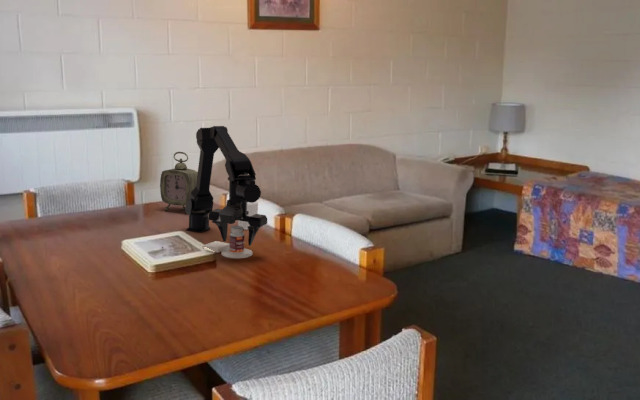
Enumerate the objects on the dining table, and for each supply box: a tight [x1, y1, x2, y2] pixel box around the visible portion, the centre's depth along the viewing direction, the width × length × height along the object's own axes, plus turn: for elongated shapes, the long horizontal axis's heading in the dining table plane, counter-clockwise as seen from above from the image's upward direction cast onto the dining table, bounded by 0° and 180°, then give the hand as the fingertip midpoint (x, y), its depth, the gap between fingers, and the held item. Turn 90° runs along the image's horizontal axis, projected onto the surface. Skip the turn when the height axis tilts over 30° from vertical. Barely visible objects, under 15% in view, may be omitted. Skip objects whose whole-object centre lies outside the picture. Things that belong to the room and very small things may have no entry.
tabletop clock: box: [159, 151, 198, 212], centre depth 250 cm, size 14×9×25 cm, turn 68°
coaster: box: [221, 247, 253, 259], centre depth 197 cm, size 10×10×1 cm
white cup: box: [237, 200, 259, 231], centre depth 230 cm, size 8×8×10 cm
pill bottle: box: [229, 225, 245, 254], centre depth 196 cm, size 5×5×8 cm
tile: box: [202, 240, 230, 253], centre depth 202 cm, size 6×2×7 cm
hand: (237, 243), depth 197 cm, fingers open, 9 cm apart
